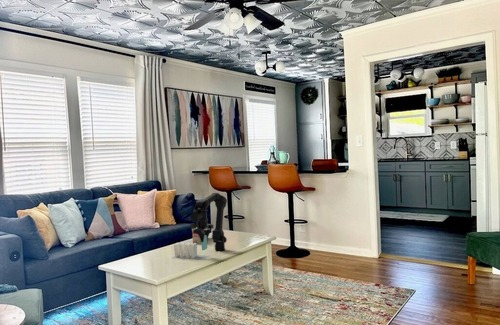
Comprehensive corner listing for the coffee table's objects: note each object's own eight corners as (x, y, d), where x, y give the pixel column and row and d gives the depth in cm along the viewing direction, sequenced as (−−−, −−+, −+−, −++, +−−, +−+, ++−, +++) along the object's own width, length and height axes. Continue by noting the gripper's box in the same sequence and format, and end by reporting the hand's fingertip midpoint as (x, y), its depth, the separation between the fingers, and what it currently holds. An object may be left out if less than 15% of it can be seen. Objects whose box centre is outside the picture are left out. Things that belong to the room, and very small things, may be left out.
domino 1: (180, 255, 272) (179, 242, 272) (176, 257, 268) (175, 244, 268) (178, 255, 273) (177, 242, 273) (174, 257, 268) (174, 244, 268)
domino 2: (186, 255, 271) (185, 242, 271) (182, 257, 266) (181, 244, 266) (184, 255, 271) (183, 242, 271) (180, 257, 267) (179, 244, 267)
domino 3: (191, 255, 269) (190, 243, 269) (188, 257, 264) (187, 244, 264) (189, 255, 270) (188, 243, 269) (186, 257, 265) (185, 244, 265)
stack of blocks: (201, 238, 328) (200, 223, 327) (208, 238, 326) (207, 223, 326) (192, 244, 307) (191, 229, 306) (200, 244, 305) (199, 228, 305)
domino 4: (197, 256, 267) (196, 243, 267) (193, 258, 263) (192, 245, 263) (195, 255, 268) (194, 243, 268) (191, 257, 263) (190, 244, 263)
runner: (211, 256, 266) (211, 255, 266) (204, 260, 257) (204, 259, 257) (179, 254, 276) (179, 254, 276) (171, 258, 267) (171, 258, 267)
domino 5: (207, 248, 264) (206, 235, 264) (204, 250, 260) (203, 237, 259) (205, 248, 265) (204, 235, 265) (201, 250, 260) (201, 236, 260)
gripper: (199, 216, 273) (200, 237, 274) (185, 221, 256) (187, 244, 256) (213, 216, 269) (214, 238, 270) (200, 221, 252) (201, 244, 252)
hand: (204, 241), depth 262 cm, fingers closed on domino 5, 5 cm apart
